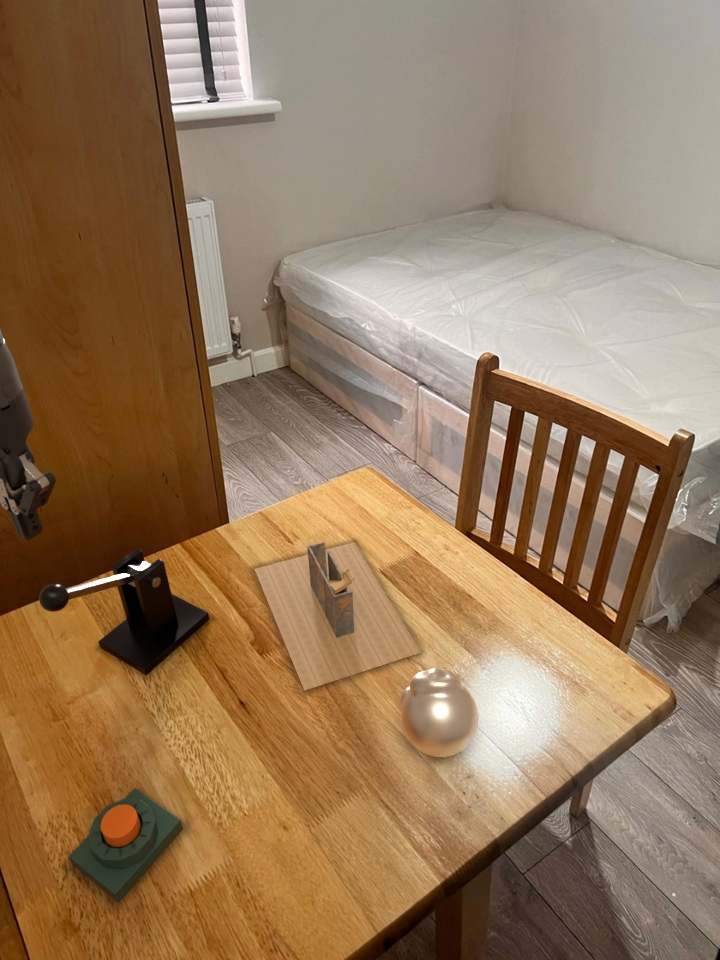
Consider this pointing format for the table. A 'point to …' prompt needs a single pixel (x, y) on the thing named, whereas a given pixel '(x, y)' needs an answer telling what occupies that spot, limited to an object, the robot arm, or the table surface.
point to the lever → (86, 588)
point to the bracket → (150, 617)
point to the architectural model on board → (333, 614)
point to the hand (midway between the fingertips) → (30, 534)
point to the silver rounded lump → (438, 713)
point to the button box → (126, 847)
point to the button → (120, 825)
